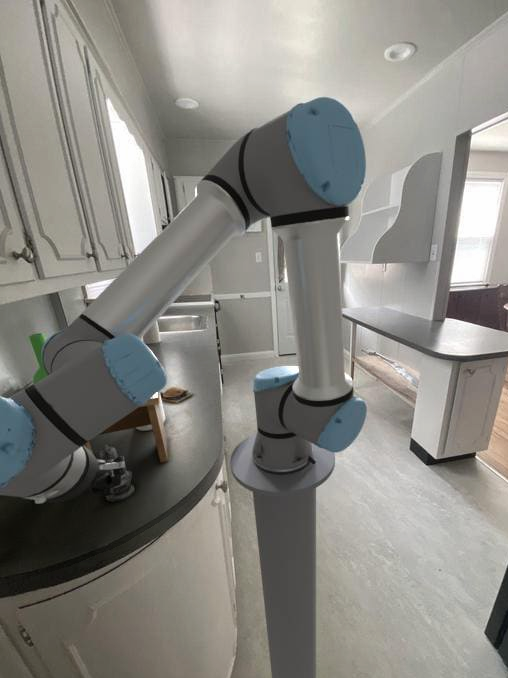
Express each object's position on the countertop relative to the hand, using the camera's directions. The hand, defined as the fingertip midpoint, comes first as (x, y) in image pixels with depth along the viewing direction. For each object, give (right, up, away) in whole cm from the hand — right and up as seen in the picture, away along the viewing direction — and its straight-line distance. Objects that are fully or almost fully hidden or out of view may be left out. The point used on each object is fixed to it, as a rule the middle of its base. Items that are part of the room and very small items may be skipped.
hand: (108, 487), depth 57 cm
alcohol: (-7, +7, +34) cm, 36 cm away
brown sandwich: (-7, +15, +52) cm, 54 cm away
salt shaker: (-2, -4, +7) cm, 8 cm away
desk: (-6, +1, +18) cm, 19 cm away
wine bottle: (-25, +4, +26) cm, 37 cm away
